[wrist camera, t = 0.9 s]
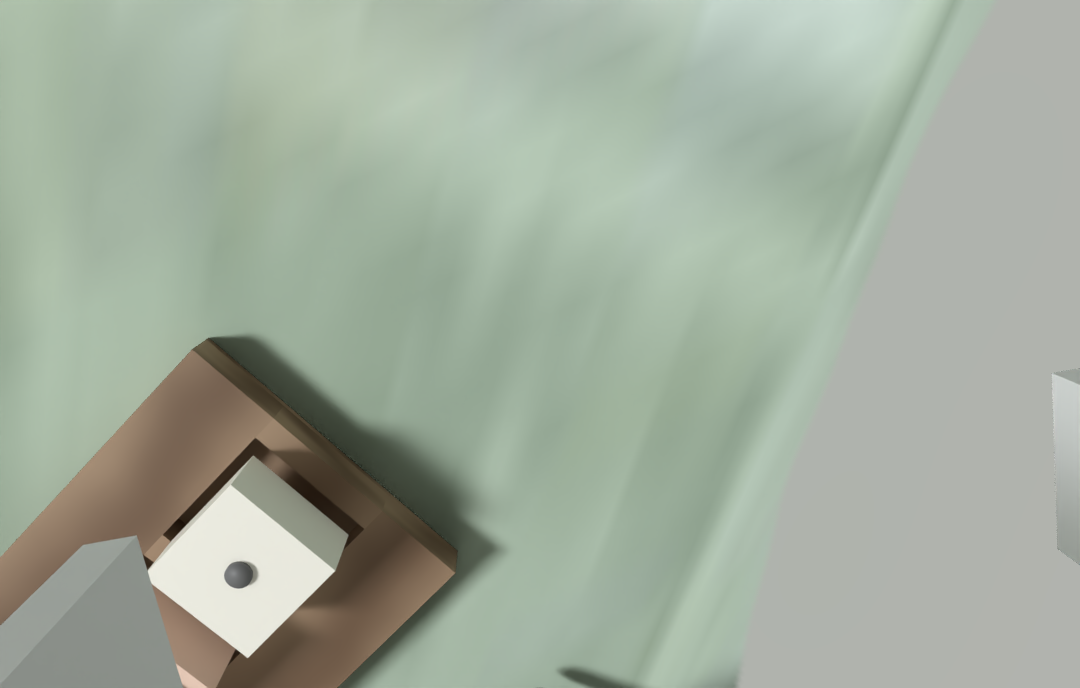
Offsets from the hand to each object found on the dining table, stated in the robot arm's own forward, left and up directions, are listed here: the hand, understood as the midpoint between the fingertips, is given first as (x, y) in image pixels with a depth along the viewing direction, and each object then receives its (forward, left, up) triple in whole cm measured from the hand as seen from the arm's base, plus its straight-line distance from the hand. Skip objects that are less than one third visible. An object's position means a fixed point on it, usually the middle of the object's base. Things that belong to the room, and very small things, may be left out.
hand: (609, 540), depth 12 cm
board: (-1, -22, -24) cm, 33 cm away
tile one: (-1, -15, -22) cm, 26 cm away
